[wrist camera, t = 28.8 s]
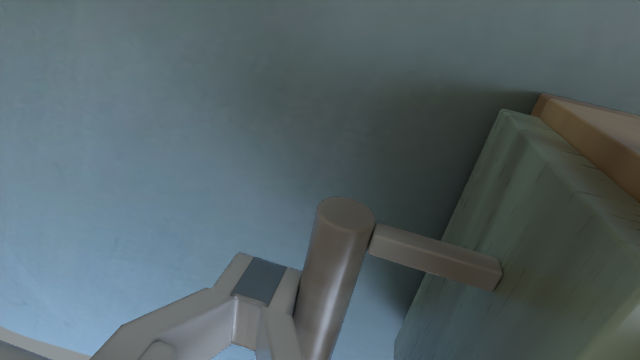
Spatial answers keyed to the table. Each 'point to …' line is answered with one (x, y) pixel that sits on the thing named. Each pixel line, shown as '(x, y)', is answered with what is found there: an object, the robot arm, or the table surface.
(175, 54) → the table surface
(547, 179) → the drawer
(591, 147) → the cabinet
